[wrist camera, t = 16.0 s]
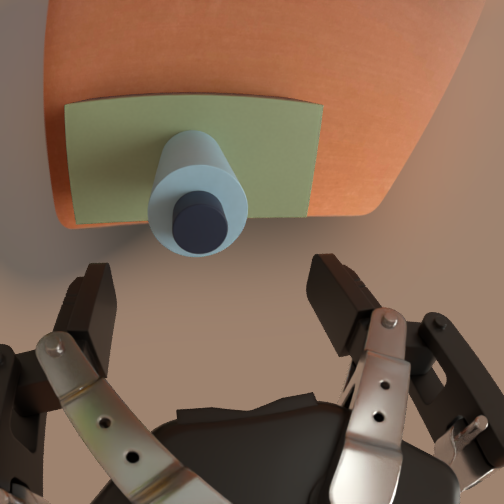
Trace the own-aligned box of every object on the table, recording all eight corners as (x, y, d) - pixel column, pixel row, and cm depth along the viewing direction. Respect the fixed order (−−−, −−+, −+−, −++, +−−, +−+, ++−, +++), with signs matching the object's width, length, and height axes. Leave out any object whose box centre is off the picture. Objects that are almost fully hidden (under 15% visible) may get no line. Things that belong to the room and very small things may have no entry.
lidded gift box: (95, 194, 34) (76, 224, 27) (89, 98, 28) (64, 104, 21) (283, 189, 39) (306, 217, 32) (293, 98, 33) (323, 105, 26)
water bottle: (161, 189, 27) (148, 279, 16) (160, 130, 25) (140, 177, 13) (220, 188, 29) (251, 274, 17) (223, 130, 26) (261, 176, 14)
